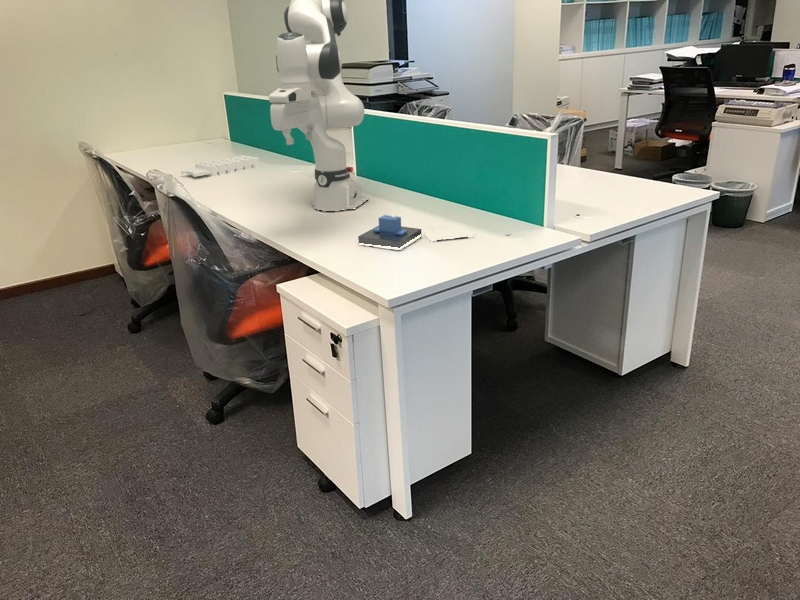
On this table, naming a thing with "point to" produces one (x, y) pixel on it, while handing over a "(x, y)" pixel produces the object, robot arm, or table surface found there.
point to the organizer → (223, 166)
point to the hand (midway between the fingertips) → (300, 142)
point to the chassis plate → (389, 237)
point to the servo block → (390, 226)
